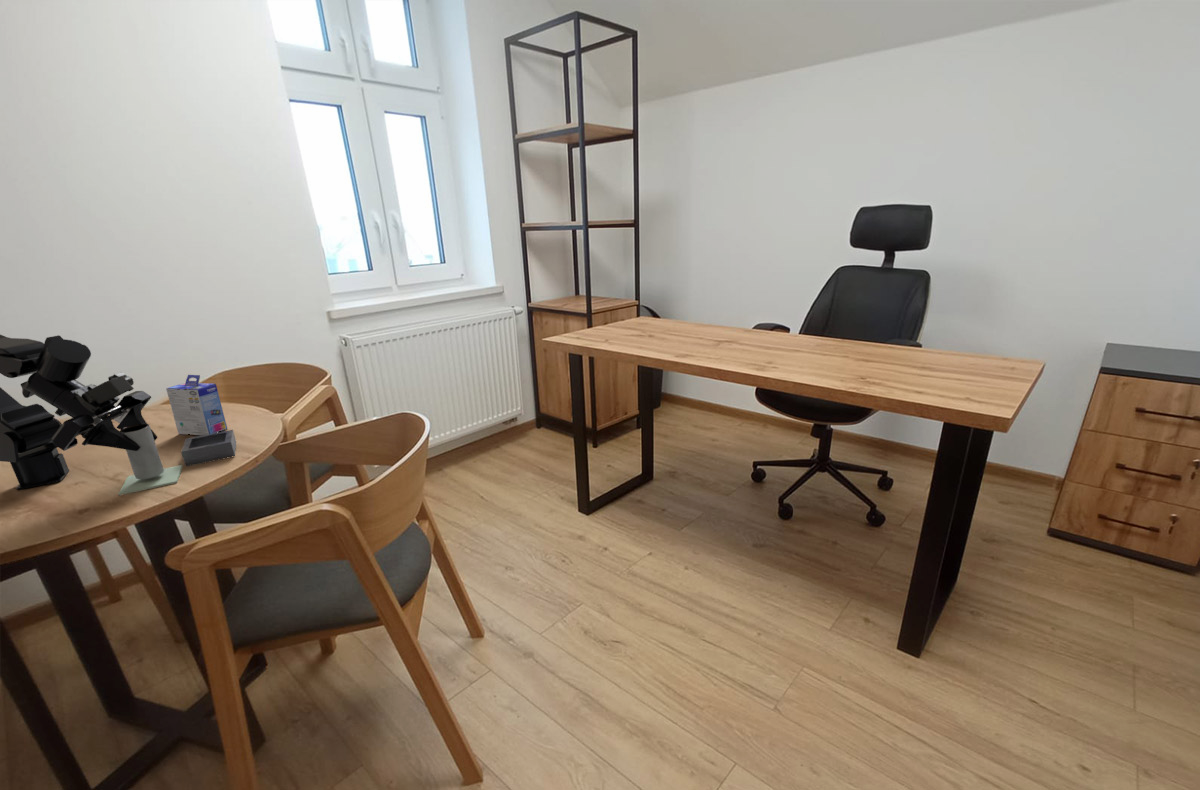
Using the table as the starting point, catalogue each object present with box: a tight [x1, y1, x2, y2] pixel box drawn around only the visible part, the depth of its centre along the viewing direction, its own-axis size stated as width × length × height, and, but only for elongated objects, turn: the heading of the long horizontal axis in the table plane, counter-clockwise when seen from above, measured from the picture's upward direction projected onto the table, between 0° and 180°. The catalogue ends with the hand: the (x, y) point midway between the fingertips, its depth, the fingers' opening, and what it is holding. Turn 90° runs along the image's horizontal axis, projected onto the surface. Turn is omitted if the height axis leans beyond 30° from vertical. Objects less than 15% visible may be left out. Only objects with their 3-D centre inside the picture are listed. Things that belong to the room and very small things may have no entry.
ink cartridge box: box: [165, 374, 228, 436], centre depth 130 cm, size 10×6×14 cm, turn 78°
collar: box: [180, 429, 237, 467], centre depth 118 cm, size 9×9×4 cm
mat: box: [117, 464, 184, 496], centre depth 107 cm, size 9×9×1 cm
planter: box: [119, 423, 165, 479], centre depth 105 cm, size 4×4×10 cm
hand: (147, 444), depth 104 cm, fingers closed on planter, 4 cm apart
